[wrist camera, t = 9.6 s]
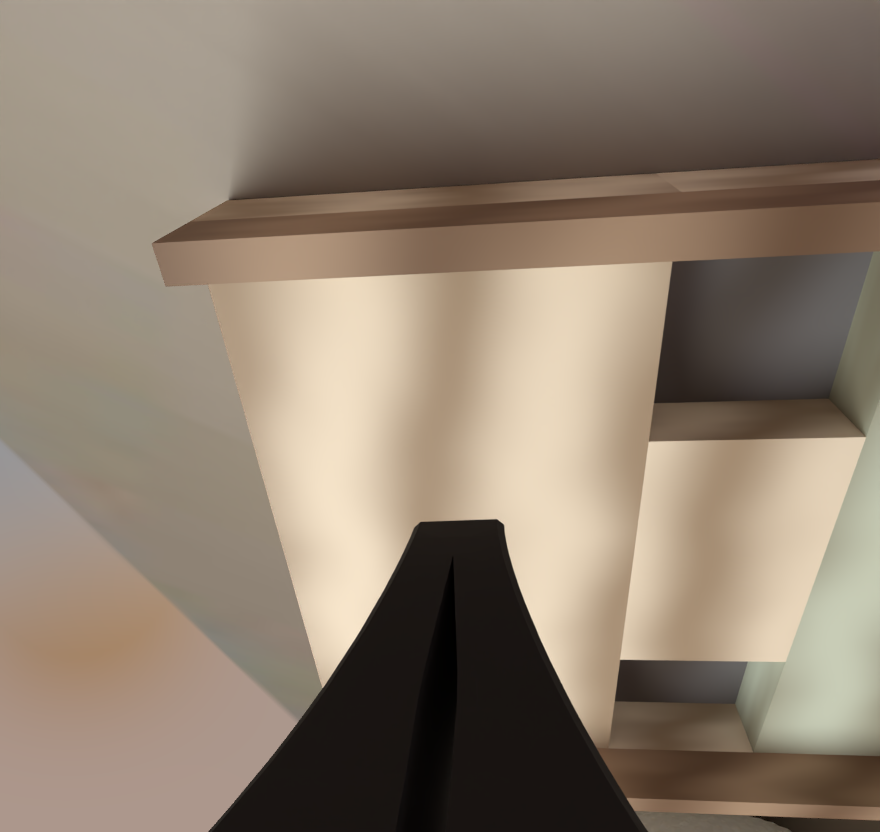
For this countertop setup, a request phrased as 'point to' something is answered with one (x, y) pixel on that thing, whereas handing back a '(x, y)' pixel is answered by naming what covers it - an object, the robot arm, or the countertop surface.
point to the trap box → (595, 443)
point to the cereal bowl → (705, 823)
